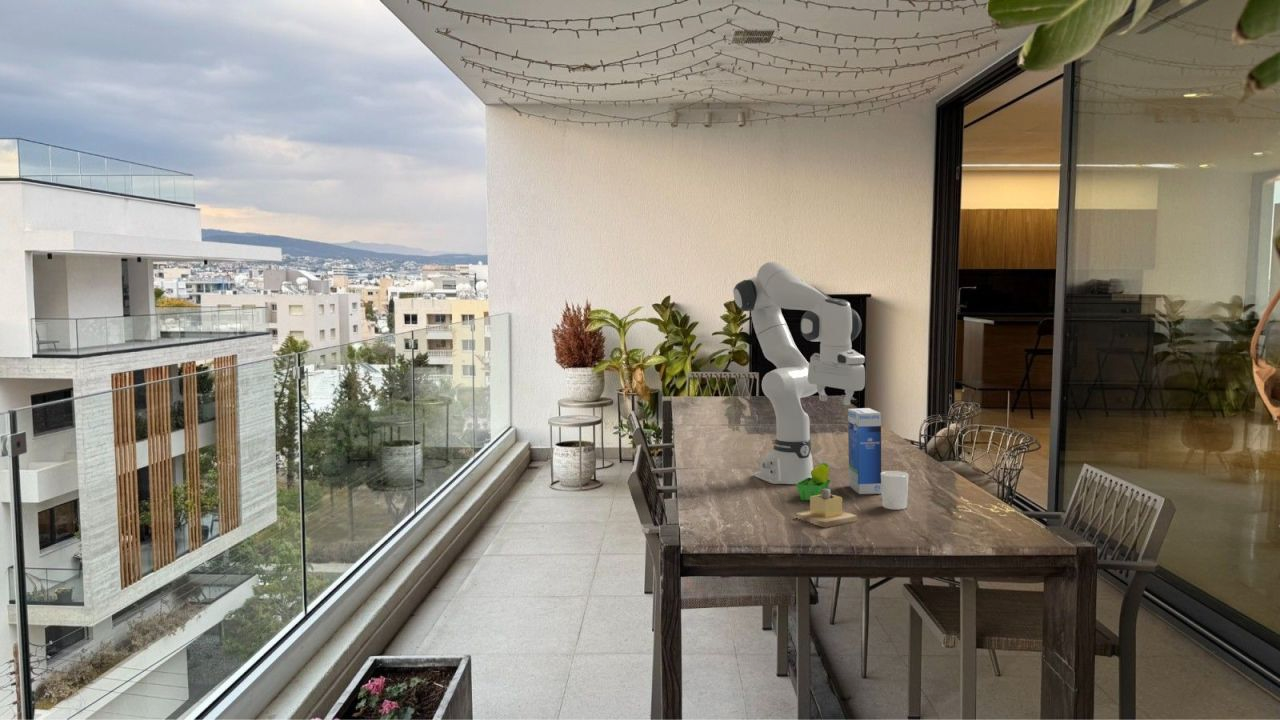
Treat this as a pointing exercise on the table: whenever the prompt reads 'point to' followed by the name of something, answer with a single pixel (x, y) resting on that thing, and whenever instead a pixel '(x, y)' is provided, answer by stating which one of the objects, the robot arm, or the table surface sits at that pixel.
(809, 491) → the fruit basket
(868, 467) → the string lights box
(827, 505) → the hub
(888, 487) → the white cup
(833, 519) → the shaft block
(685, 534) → the table surface
